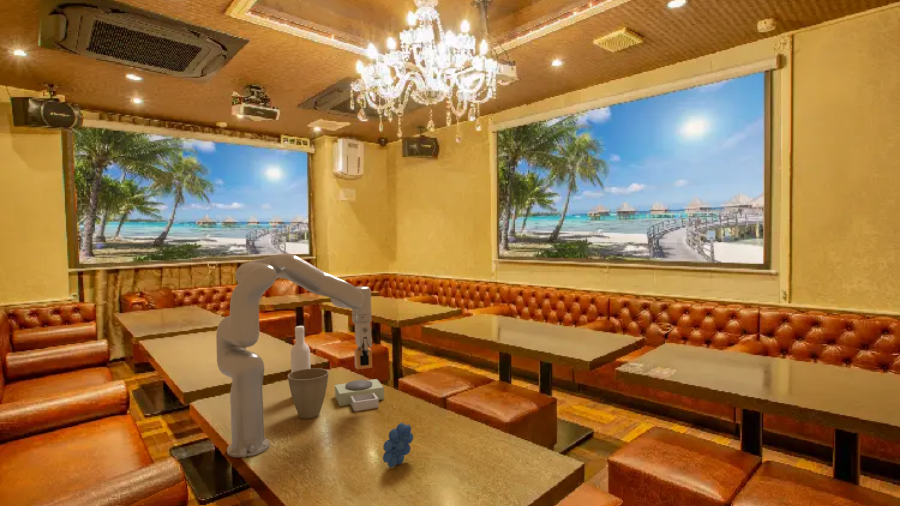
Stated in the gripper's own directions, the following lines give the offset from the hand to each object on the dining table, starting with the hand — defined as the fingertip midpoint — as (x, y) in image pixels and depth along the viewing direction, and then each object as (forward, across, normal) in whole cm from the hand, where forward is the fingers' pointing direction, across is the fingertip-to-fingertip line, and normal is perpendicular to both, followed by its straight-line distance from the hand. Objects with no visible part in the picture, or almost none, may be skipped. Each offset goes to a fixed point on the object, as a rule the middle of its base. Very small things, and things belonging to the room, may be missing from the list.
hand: (363, 363), depth 184 cm
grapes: (+17, -50, +1) cm, 53 cm away
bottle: (+18, +22, +22) cm, 36 cm away
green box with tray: (+17, +6, 0) cm, 18 cm away
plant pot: (+17, 0, +21) cm, 27 cm away
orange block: (+2, 0, 0) cm, 2 cm away
